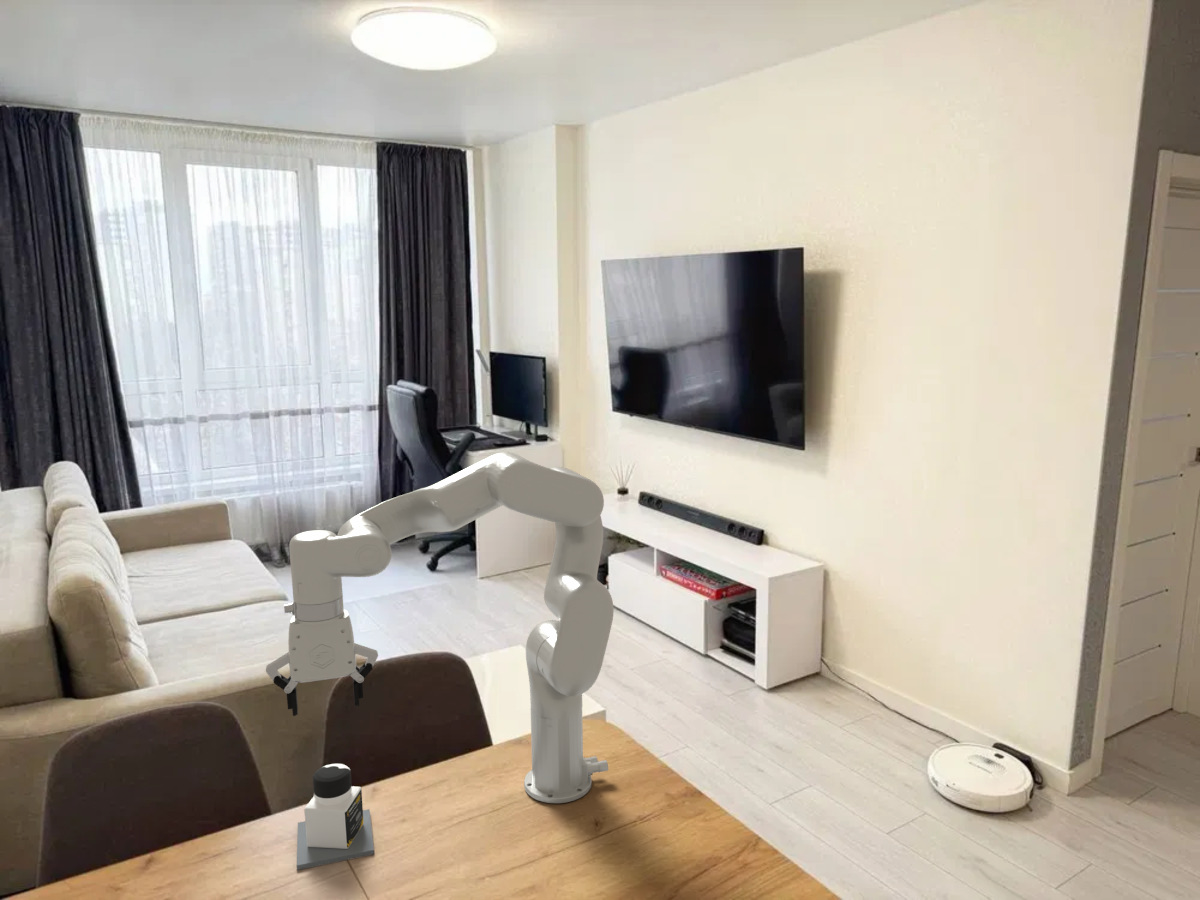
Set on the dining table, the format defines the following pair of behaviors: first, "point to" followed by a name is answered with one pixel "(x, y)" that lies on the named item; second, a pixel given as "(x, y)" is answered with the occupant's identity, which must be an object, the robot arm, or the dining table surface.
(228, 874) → the dining table surface
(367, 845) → the slate mat
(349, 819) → the medicine bottle
